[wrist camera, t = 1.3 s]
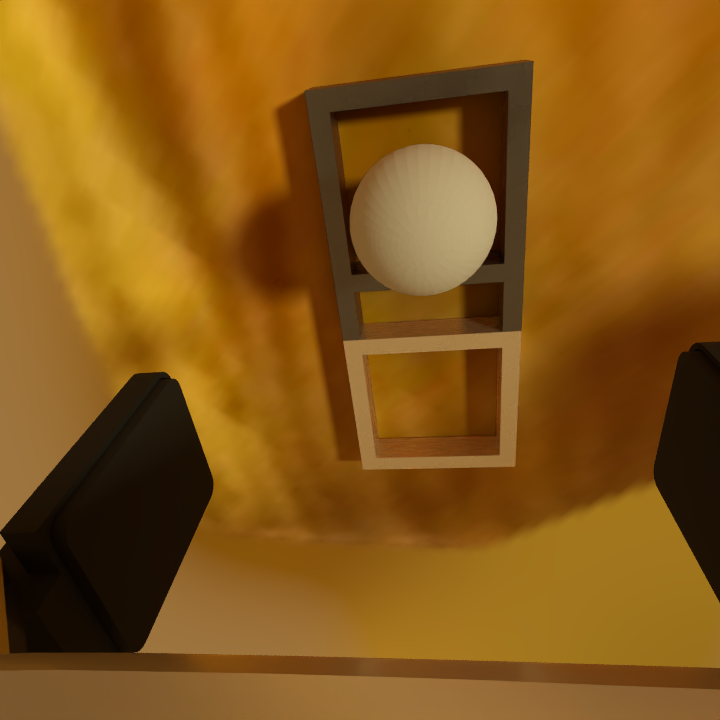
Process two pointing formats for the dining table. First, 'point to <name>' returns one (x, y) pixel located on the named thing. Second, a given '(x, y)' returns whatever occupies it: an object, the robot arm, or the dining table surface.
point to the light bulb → (423, 219)
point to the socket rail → (495, 268)
